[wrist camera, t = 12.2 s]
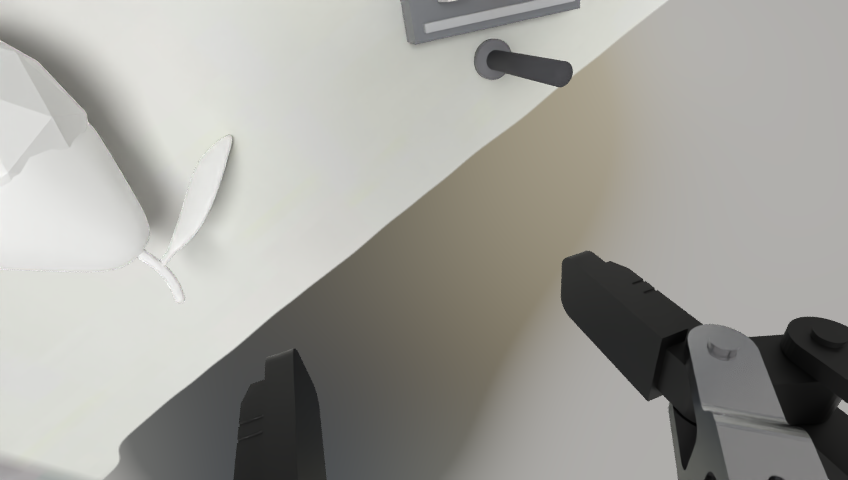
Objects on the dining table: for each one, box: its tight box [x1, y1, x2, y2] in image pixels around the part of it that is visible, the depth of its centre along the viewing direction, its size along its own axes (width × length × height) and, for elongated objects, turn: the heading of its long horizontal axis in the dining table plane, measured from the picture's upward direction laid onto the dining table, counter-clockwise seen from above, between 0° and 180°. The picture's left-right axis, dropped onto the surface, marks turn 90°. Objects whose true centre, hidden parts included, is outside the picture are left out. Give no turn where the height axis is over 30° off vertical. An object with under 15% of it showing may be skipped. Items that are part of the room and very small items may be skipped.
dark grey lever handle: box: [474, 39, 573, 87], centre depth 39 cm, size 4×4×14 cm
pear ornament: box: [0, 40, 232, 303], centre depth 32 cm, size 16×22×28 cm
